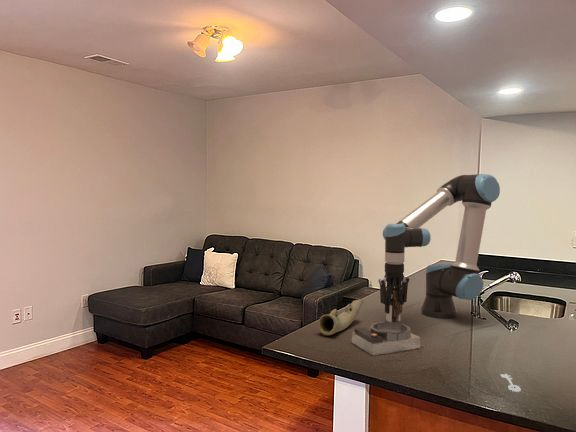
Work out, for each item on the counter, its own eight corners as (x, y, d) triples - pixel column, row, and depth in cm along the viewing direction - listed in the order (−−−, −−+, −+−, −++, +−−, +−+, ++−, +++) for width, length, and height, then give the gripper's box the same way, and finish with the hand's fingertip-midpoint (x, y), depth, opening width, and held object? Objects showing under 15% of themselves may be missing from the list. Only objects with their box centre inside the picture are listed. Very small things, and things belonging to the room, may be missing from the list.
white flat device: (396, 335, 172) (396, 319, 171) (420, 348, 158) (420, 330, 158) (351, 342, 164) (351, 325, 164) (372, 355, 151) (373, 337, 150)
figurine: (381, 331, 177) (382, 287, 176) (387, 328, 181) (388, 285, 180) (399, 335, 173) (400, 290, 172) (404, 332, 177) (405, 287, 176)
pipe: (335, 339, 167) (335, 313, 167) (316, 335, 172) (316, 310, 171) (363, 321, 191) (364, 298, 190) (346, 318, 196) (346, 295, 195)
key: (509, 392, 125) (522, 393, 124) (509, 389, 125) (522, 390, 124) (499, 375, 137) (511, 376, 136) (500, 372, 136) (511, 373, 136)
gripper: (405, 260, 182) (404, 315, 183) (371, 262, 176) (370, 320, 177) (417, 263, 175) (416, 320, 176) (382, 265, 169) (381, 325, 170)
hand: (393, 320), depth 177 cm, fingers closed on figurine, 3 cm apart
